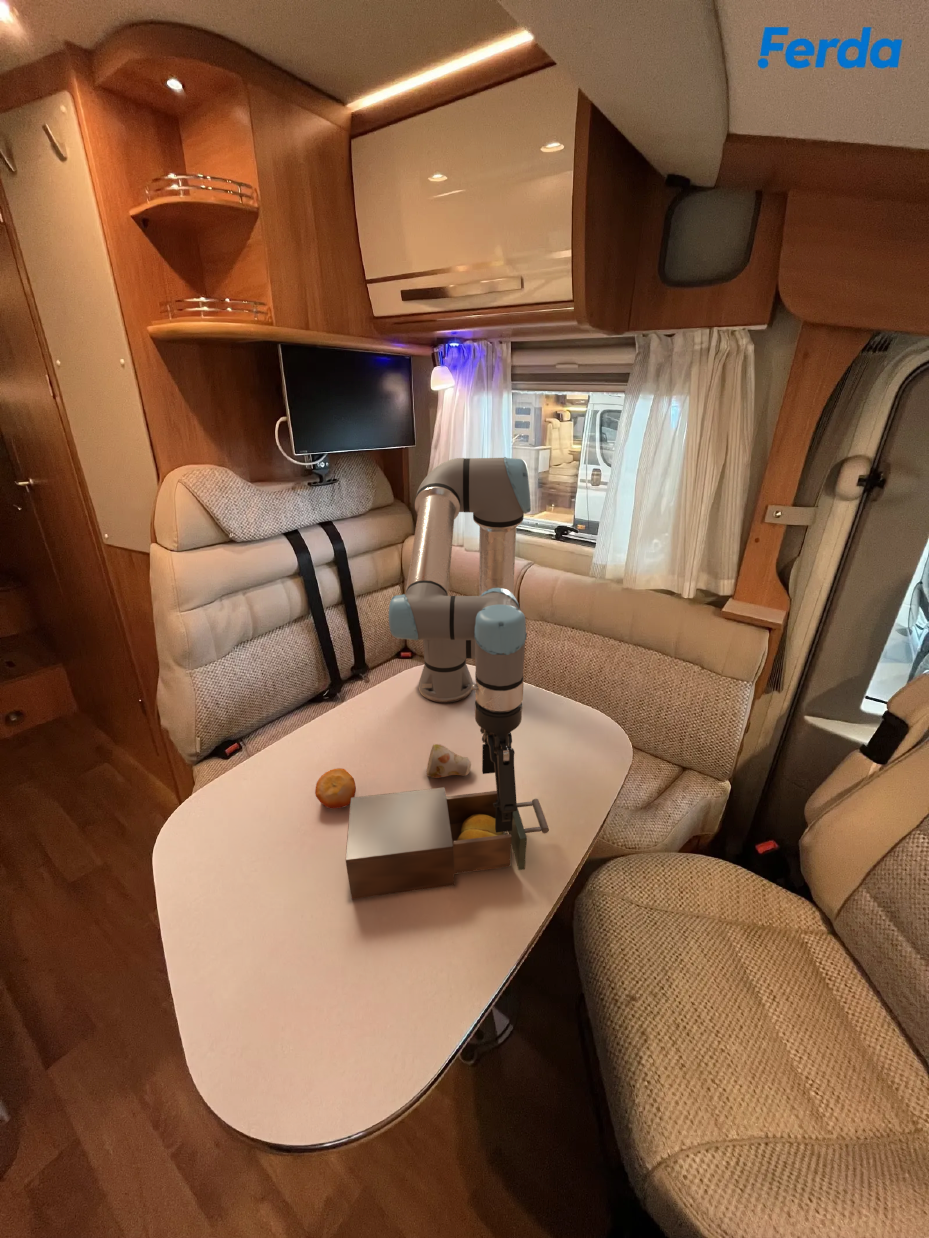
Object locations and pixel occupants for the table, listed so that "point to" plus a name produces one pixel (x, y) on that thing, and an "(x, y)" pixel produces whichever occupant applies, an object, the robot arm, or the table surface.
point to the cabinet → (399, 843)
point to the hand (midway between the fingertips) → (496, 799)
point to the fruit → (335, 788)
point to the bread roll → (478, 827)
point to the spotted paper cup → (446, 763)
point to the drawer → (492, 848)
